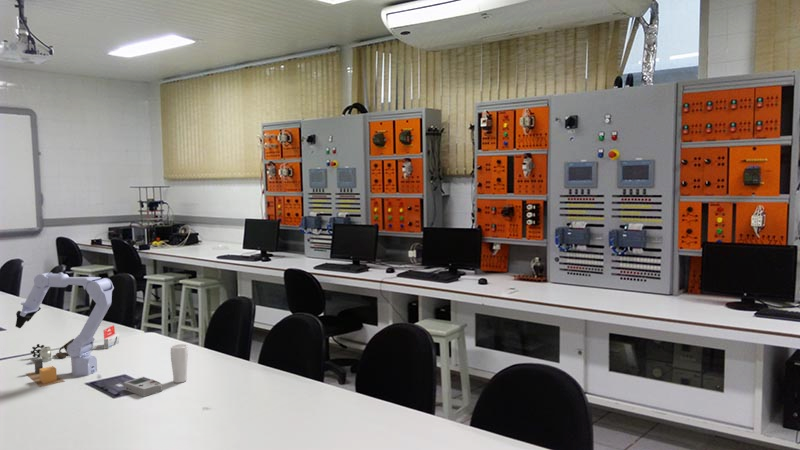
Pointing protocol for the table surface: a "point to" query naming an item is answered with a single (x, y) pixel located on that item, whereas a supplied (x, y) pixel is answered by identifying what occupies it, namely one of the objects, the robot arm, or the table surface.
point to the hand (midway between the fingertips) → (22, 323)
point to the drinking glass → (179, 362)
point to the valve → (42, 353)
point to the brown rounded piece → (63, 355)
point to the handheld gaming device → (143, 386)
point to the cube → (48, 374)
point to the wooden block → (36, 375)
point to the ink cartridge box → (110, 338)
